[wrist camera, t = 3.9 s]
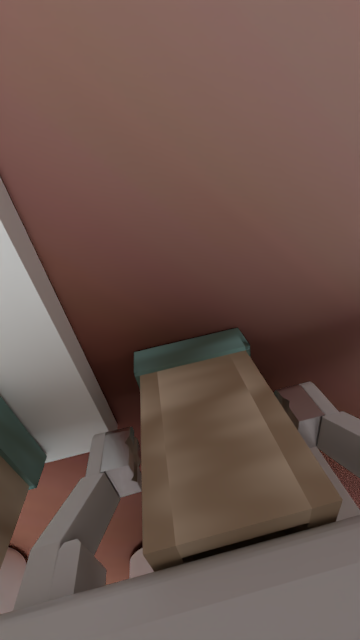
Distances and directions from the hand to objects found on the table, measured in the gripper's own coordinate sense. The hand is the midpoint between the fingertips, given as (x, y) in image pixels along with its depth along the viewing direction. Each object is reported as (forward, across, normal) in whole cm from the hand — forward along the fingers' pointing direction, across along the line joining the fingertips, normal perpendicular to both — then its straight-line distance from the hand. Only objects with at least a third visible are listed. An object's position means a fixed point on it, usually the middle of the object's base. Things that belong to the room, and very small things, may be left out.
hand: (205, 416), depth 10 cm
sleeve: (+2, 0, 0) cm, 2 cm away
